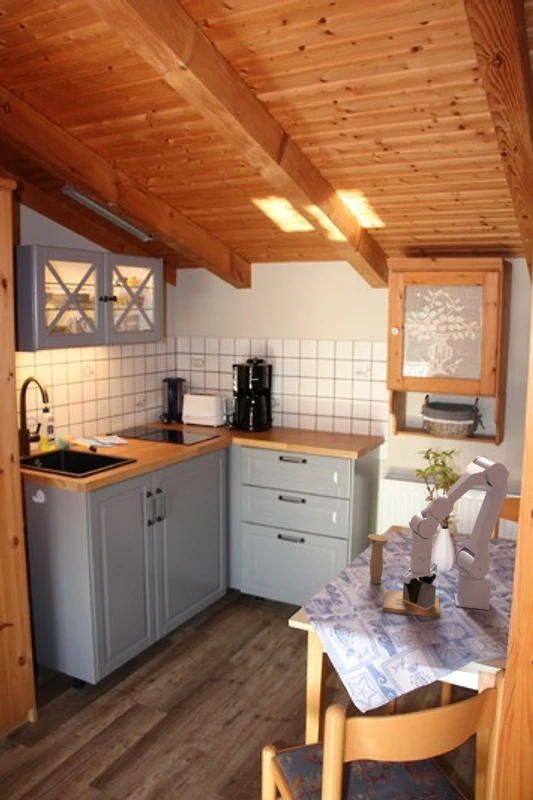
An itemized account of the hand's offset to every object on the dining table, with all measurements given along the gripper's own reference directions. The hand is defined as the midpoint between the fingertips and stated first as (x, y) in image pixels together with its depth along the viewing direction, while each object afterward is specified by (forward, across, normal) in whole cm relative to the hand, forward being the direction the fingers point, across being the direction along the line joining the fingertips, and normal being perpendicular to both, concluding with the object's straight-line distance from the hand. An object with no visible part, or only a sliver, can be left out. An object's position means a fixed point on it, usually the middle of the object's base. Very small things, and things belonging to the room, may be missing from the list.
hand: (418, 599), depth 194 cm
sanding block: (+1, 0, 0) cm, 1 cm away
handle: (+3, +4, +19) cm, 19 cm away
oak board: (+2, 0, +2) cm, 3 cm away
